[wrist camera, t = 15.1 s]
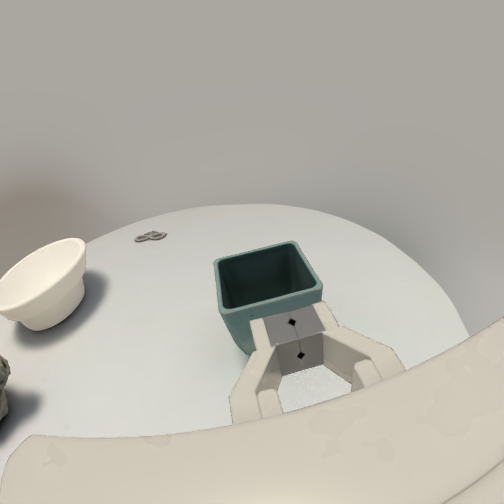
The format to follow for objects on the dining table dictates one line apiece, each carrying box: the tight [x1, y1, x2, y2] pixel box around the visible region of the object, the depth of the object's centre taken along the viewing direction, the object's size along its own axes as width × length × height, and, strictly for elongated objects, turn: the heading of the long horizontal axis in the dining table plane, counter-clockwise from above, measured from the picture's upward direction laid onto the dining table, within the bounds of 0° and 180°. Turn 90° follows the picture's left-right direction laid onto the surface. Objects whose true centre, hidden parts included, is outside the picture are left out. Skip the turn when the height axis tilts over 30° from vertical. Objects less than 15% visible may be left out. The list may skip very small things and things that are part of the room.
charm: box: [134, 231, 168, 242], centre depth 61 cm, size 8×1×4 cm
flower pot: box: [214, 241, 323, 356], centre depth 30 cm, size 9×9×9 cm
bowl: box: [0, 238, 86, 331], centre depth 42 cm, size 21×21×8 cm
